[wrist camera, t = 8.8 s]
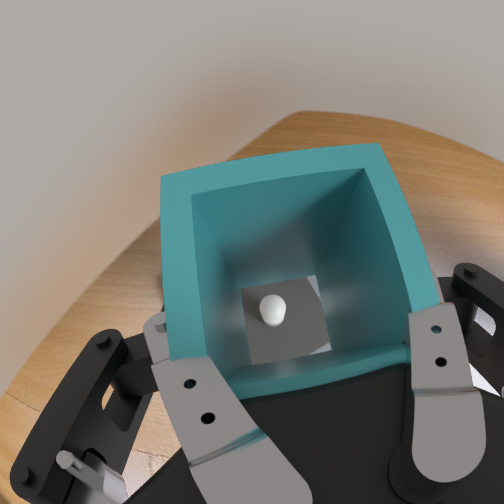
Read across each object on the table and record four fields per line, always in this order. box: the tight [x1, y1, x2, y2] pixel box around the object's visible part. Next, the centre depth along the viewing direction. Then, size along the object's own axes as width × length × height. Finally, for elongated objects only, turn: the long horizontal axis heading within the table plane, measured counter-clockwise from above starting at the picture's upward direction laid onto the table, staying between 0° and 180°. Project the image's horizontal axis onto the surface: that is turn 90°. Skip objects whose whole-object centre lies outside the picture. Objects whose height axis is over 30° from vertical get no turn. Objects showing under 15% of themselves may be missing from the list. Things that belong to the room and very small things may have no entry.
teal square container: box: [160, 143, 440, 400], centre depth 10 cm, size 6×6×10 cm
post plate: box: [162, 275, 331, 365], centre depth 24 cm, size 18×18×10 cm
